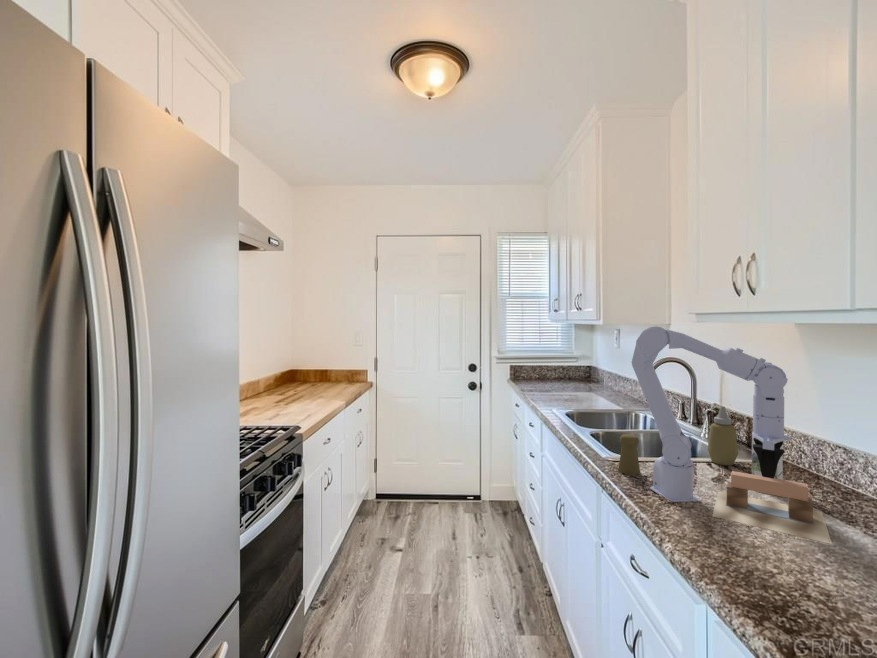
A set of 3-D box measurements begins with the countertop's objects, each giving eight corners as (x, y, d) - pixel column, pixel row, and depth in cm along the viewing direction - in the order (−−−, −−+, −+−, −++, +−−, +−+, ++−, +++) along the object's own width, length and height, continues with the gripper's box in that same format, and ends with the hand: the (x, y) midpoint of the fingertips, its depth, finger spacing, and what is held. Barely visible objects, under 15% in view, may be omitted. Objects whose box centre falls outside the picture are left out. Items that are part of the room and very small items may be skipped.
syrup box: (783, 490, 112) (783, 435, 112) (777, 496, 109) (778, 439, 109) (757, 484, 117) (757, 431, 117) (750, 489, 113) (751, 435, 113)
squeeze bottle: (701, 459, 138) (701, 404, 137) (722, 458, 139) (723, 403, 139) (722, 468, 130) (722, 409, 130) (744, 466, 131) (745, 408, 131)
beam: (731, 486, 102) (731, 474, 102) (731, 482, 104) (732, 470, 104) (808, 501, 93) (808, 488, 93) (807, 497, 96) (807, 483, 96)
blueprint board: (712, 518, 96) (712, 496, 96) (718, 493, 110) (719, 474, 110) (831, 546, 84) (832, 521, 84) (821, 514, 98) (822, 492, 98)
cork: (615, 467, 130) (615, 432, 130) (635, 468, 130) (635, 432, 130) (622, 474, 124) (622, 437, 124) (643, 475, 124) (643, 437, 124)
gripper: (792, 423, 90) (791, 486, 90) (789, 412, 102) (788, 468, 102) (751, 419, 95) (750, 479, 95) (752, 408, 106) (752, 462, 106)
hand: (767, 473), depth 99 cm, fingers open, 6 cm apart
